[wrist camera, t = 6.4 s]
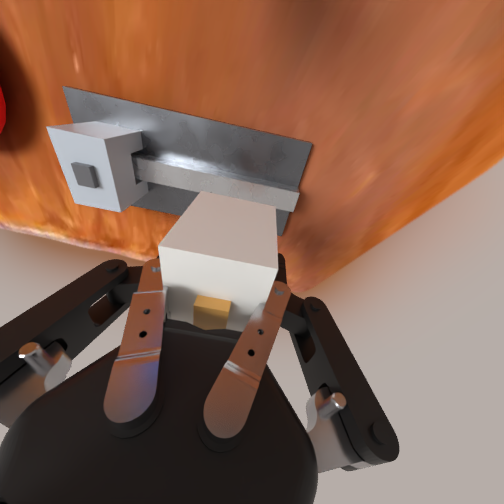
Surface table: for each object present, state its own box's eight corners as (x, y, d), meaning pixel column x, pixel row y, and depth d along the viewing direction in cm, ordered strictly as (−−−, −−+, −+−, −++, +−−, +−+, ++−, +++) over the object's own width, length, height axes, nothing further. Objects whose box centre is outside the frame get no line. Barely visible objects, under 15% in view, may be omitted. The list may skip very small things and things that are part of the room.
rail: (68, 86, 21) (44, 84, 18) (311, 142, 22) (315, 146, 20) (100, 196, 28) (85, 204, 26) (281, 233, 29) (282, 244, 27)
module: (201, 190, 13) (150, 255, 7) (275, 206, 13) (278, 279, 8) (198, 270, 17) (165, 348, 11) (254, 281, 17) (247, 362, 12)
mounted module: (95, 121, 22) (39, 127, 16) (140, 131, 22) (99, 140, 17) (111, 184, 26) (70, 205, 21) (148, 192, 26) (117, 215, 21)
